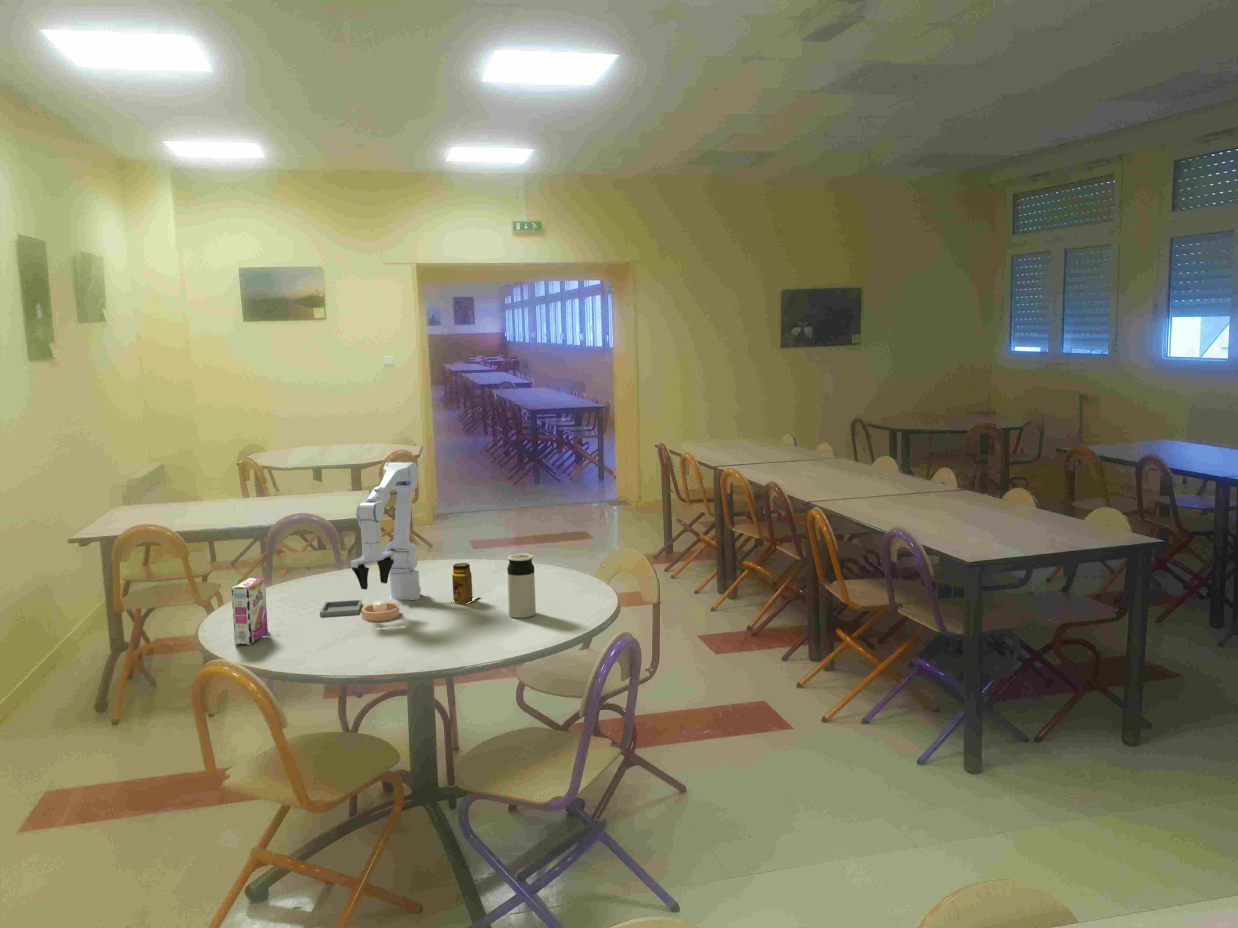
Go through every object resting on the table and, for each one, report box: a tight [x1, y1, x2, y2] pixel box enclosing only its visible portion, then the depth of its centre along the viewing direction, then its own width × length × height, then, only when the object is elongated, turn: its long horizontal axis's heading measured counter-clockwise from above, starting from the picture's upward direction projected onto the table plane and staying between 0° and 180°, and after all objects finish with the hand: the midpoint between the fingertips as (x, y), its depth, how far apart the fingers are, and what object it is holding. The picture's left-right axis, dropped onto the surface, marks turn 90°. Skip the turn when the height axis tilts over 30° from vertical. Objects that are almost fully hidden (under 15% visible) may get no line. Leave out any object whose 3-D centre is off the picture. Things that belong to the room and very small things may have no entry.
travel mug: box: [507, 553, 537, 619], centre depth 266 cm, size 8×8×18 cm
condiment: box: [448, 562, 474, 604], centre depth 283 cm, size 7×8×12 cm
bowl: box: [360, 601, 401, 622], centre depth 268 cm, size 11×11×3 cm
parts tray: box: [319, 599, 363, 618], centre depth 274 cm, size 11×11×2 cm
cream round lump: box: [372, 600, 387, 612], centre depth 268 cm, size 4×4×4 cm
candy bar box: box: [231, 577, 269, 646], centre depth 249 cm, size 11×5×16 cm, turn 178°
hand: (374, 585), depth 268 cm, fingers open, 7 cm apart
